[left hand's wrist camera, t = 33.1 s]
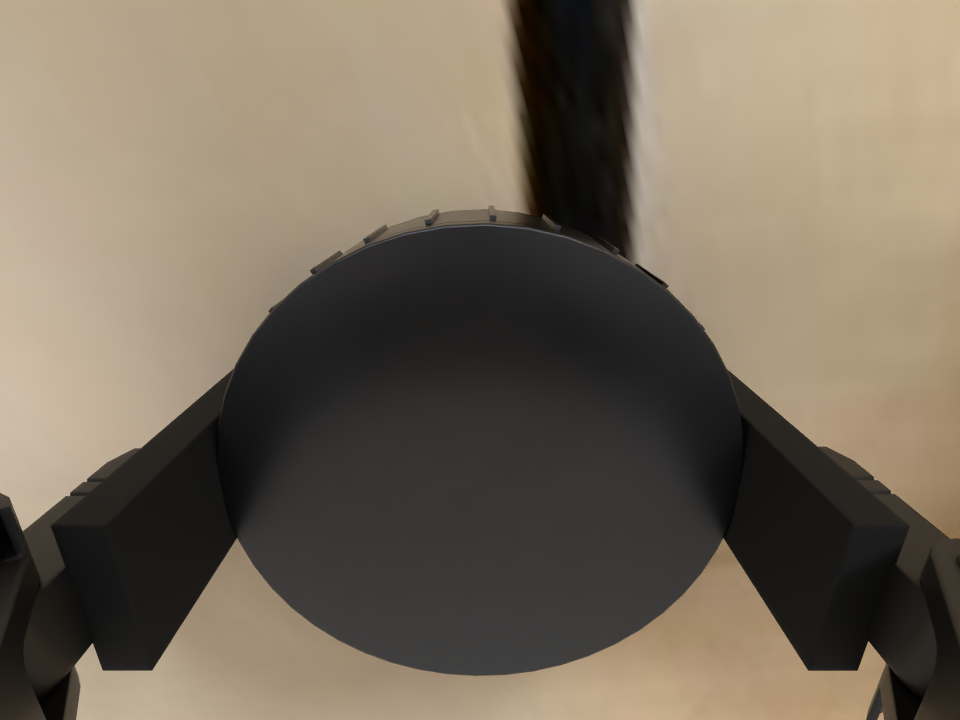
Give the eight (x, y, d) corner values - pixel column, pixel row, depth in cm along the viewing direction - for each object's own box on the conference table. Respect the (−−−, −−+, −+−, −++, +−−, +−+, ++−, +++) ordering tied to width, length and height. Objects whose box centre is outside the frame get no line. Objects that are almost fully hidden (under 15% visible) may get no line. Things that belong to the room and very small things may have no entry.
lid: (635, 615, 15) (663, 700, 12) (261, 571, 14) (219, 652, 12) (760, 248, 11) (835, 271, 9) (262, 168, 10) (201, 171, 8)
